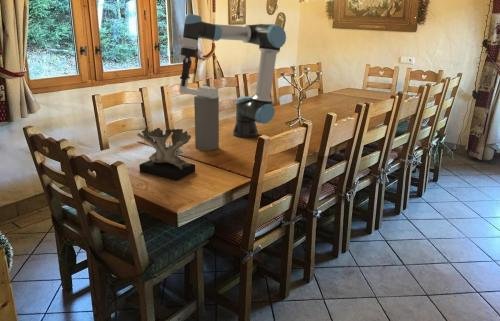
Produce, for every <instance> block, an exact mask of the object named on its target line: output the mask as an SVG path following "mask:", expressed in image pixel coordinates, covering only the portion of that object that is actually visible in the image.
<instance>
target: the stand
mask: <svg viewBox="0 0 500 321" xmlns="http://www.w3.org/2000/svg"><path fill="white" fill-rule="evenodd" d="M193 97H194V98H193V100H194V101H193V102H194V104H193V105H194V107H193V108H194V141H195V142H194V146H195V149H197V150H198V149H199V150H202V151H205V152H209V151H213V150H215V149H218V148H220V141H219V140H220V131H219V130H220V127H219V126H220V124H219V123H220V117H219V116H220V115H219V114H220V112H219V110H220V109H219V108H220V107H219V106H220V105H219V102H220V100H219V99H220V96H218V98H214V99H209V98H204V97H199V96H196V95H194V96H193Z"/></svg>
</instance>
